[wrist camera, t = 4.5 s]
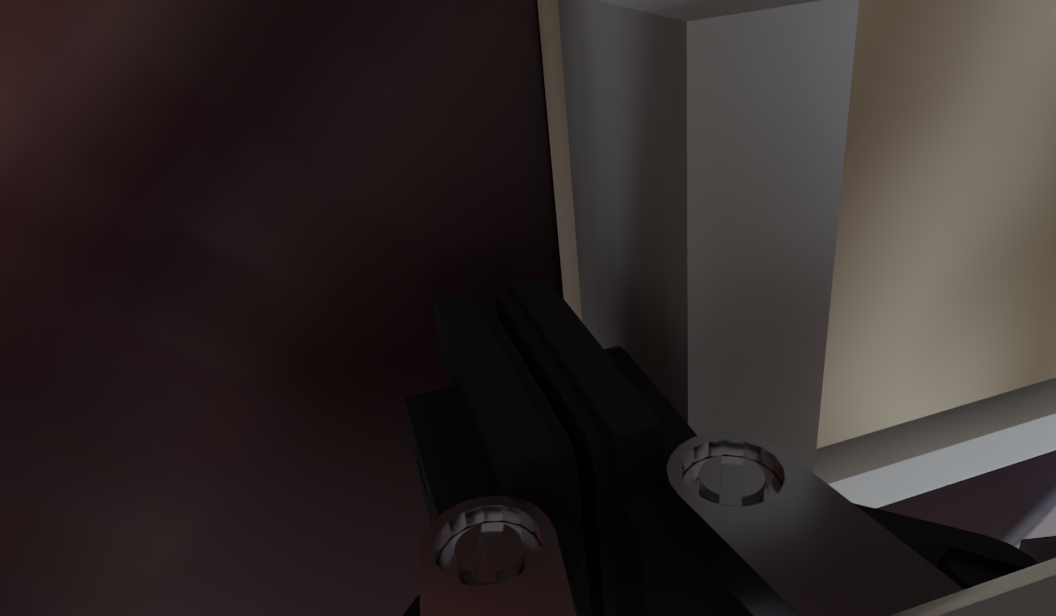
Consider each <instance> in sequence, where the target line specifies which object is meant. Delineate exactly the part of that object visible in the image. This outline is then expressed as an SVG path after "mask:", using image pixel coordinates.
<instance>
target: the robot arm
mask: <svg viewBox="0 0 1056 616" xmlns="http://www.w3.org/2000/svg"><path fill="white" fill-rule="evenodd" d="M507 294H508V295H503V296H499V297H497V301H496V304H497V313H498V316H497V314H496V313H495V311H494V309H493V308H492V306H491V304H490V303H489V301H488V300H487V299H485V300H481V301H475V299H474V297H473V295H472V294H471V293H468V294H463V295H459V296H454V297H450V298H445V299H441V300H436V301H434V303H433V305H434V313H435V320H436V325H437V331H438V337H439V343H440V348H441V354H442V360H443V366H444V371H445V377H446V383H447V388H445V389H441V390H437V391H433V392H429V393H425V394H421V395H417V396H413V397H409V398H405V399H403V402H404V408H405V413H406V418H407V423H408V428H409V433H410V437H411V442H412V447H413V452H414V456H415V460H416V465H417V469H418V473H419V477H420V482H421V486H422V490H423V494H424V497H425V501H426V505H427V508H428V512H429V515H430V519H431V524H430V526H429V527H428V529H427V531H426V532H425V534H424V536H423V537H422V539H421V544H420V549H419V555H418V560H419V592H420V594H419V595H418V596H417V598H416V599H415V600H414V602H413V603H412V604H411V605H410V607H409V608H408V609H407V611H406V612H405V613H404V614H403V616H1056V536H1051V537H1042V538H1032V539H1023V540H1021V543H1020V547H1019V549H1018V548H1016V547H1014V546H1012V545H1010V544H1008V543H1006V542H1003V541H1000V540H997V539H994V538H991V537H988V536H985V535H982V534H978V533H974V532H970V531H966V530H962V529H957V528H953V527H949V526H945V525H941V524H937V523H933V522H929V521H925V520H921V519H916V518H912V517H908V516H904V515H900V514H896V513H892V512H888V511H884V510H880V509H875V508H871V507H867V506H863V505H859V504H855V503H852V502H851V501H849V500H848V499H847V498H845V497H844V496H843V495H841V494H840V493H839V492H838V491H836V490H835V489H834V488H832V487H831V486H830V485H828V484H827V483H826V482H825V481H823V480H822V479H821V478H819V477H818V476H817V475H815V474H814V473H813V472H812V471H810V470H809V469H808V468H806V467H805V466H804V465H803V464H801V463H800V462H799V461H797V460H796V459H795V458H793V457H792V456H791V455H790V454H788V453H787V452H786V451H784V450H783V449H781V448H780V447H778V446H776V445H775V444H773V443H771V442H770V441H768V440H766V439H763V438H759V437H756V436H753V435H750V434H745V433H737V432H712V433H707V434H703V435H700V436H697V434H696V433H695V432H694V431H693V430H692V428H691V427H690V426H689V425H688V424H687V423H686V421H685V420H684V419H683V418H682V417H681V415H680V414H679V413H678V412H677V411H676V410H675V408H674V407H673V406H672V405H671V404H670V402H669V401H668V400H667V399H666V398H665V396H664V395H663V394H662V393H661V392H660V391H659V389H658V388H657V387H656V386H655V385H654V383H653V382H652V381H651V380H650V379H649V378H648V376H647V375H646V374H645V373H644V372H643V370H642V369H641V368H640V367H639V366H638V364H637V363H636V362H635V361H634V360H633V359H632V357H631V356H630V355H629V354H628V353H627V351H625V350H624V349H623V348H622V347H620V346H615V347H611V348H607V349H603V348H602V346H601V345H600V344H599V342H598V341H597V340H596V339H595V337H594V336H593V335H592V334H591V332H590V331H589V330H588V329H587V327H586V326H585V325H584V324H583V322H582V321H581V320H580V319H579V317H578V316H577V315H576V314H575V312H574V311H573V310H572V309H571V307H570V306H569V305H568V304H567V302H566V301H565V300H564V298H563V297H562V296H561V295H560V293H559V292H558V291H557V290H556V288H555V287H554V286H553V285H552V283H551V282H550V281H549V280H548V278H546V277H545V276H544V277H540V278H535V279H531V280H526V281H522V282H517V283H513V284H509V285H508V291H507Z"/></svg>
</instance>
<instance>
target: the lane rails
mask: <svg viewBox="0 0 1056 616" xmlns="http://www.w3.org/2000/svg"><path fill="white" fill-rule="evenodd" d="M1054 450H1056V378H1052V379H1049V380H1046V381H1042V382H1039V383H1035V384H1032V385H1029V386H1025V387H1022V388H1019V389H1015V390H1012V391H1009V392H1005V393H1002V394H999V395H995V396H992V397H989V398H985V399H982V400H979V401H975V402H972V403H969V404H965V405H962V406H958V407H955V408H952V409H948V410H945V411H942V412H938V413H935V414H932V415H928V416H925V417H922V418H918V419H915V420H912V421H908V422H905V423H902V424H898V425H895V426H892V427H888V428H885V429H882V430H878V431H875V432H871V433H868V434H865V435H861V436H858V437H855V438H851V439H848V440H845V441H841V442H838V443H835V444H831V445H828V446H825V447H821V448H818V449H816V460H815V471H814V474H815V475H817V476H818V477H819V478H821V479H822V480H823V481H825V482H826V483H827V484H828V485H830V486H831V487H832V488H834V489H835V490H836V491H838V492H839V493H840V494H841V495H843V496H844V497H845V498H847V499H848V500H849V501H851V502H852V503H855V504H859V505H863V506H867V507H871V508H878V507H881V506H884V505H888V504H891V503H894V502H897V501H900V500H903V499H906V498H909V497H912V496H915V495H918V494H922V493H925V492H928V491H931V490H934V489H937V488H940V487H943V486H946V485H949V484H952V483H956V482H959V481H962V480H965V479H968V478H971V477H974V476H977V475H980V474H983V473H986V472H990V471H993V470H996V469H999V468H1002V467H1005V466H1008V465H1011V464H1014V463H1017V462H1020V461H1024V460H1027V459H1030V458H1033V457H1036V456H1039V455H1042V454H1045V453H1048V452H1051V451H1054Z"/></svg>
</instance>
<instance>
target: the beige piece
mask: <svg viewBox="0 0 1056 616" xmlns="http://www.w3.org/2000/svg"><path fill="white" fill-rule="evenodd" d="M537 3H538V14H539V25H540V37H541V48H542V59H543V71H544V82H545V93H546V105H547V116H548V127H549V138H550V150H551V161H552V172H553V184H554V195H555V206H556V218H557V229H558V240H559V252H560V263H561V274H562V286H563V297H564V300H565V301H566V302H567V304H568V305H569V306H570V307H571V309H572V310H573V311H574V312H575V314H576V315H577V316H578V317H579V319H580V320H581V321H582V322H583V324H584V325H585V326H586V327H587V329H588V330H589V331H590V332H591V334H592V335H593V336H594V337H595V339H596V340H597V341H598V342H599V344H600V345H601V346H602V348H603V349H607V348H611V347H615V346H620V347H622V348H623V349H624V350H625V351H627V353H628V354H629V355H630V356H631V357H632V359H633V360H634V361H635V362H636V363H637V364H638V366H639V367H640V368H641V369H642V370H643V372H644V373H645V374H646V375H647V376H648V378H649V379H650V380H651V381H652V382H653V383H654V385H655V386H656V387H657V388H658V389H659V391H660V392H661V393H662V394H663V395H664V396H665V398H666V399H667V400H668V401H669V402H670V404H671V405H672V406H673V407H674V408H675V410H676V411H677V412H678V413H679V414H680V415H681V417H682V418H683V419H684V420H685V421H686V423H687V424H688V425H689V426H690V427H691V428H692V430H693V431H694V432H695V433H696V434H697V436H700V435H703V434H707V433H712V432H737V433H745V434H750V435H753V436H756V437H759V438H763V439H766V440H768V441H770V442H771V443H773V444H775V445H776V446H778V447H780V448H781V449H783V450H784V451H786V452H787V453H788V454H790V455H791V456H792V457H793V458H795V459H796V460H797V461H799V462H800V463H801V464H803V465H804V466H805V467H806V468H808V469H809V470H810V471H812V472H813V473H814V471H815V460H816V449H818V448H821V447H825V446H828V445H831V444H835V443H838V442H841V441H845V440H848V439H851V438H855V437H858V436H861V435H865V434H868V433H871V432H875V431H878V430H882V429H885V428H888V427H892V426H895V425H898V424H902V423H905V422H908V421H912V420H915V419H918V418H922V417H925V416H928V415H932V414H935V413H938V412H942V411H945V410H948V409H952V408H955V407H958V406H962V405H965V404H969V403H972V402H975V401H979V400H982V399H985V398H989V397H992V396H995V395H999V394H1002V393H1005V392H1009V391H1012V390H1015V389H1019V388H1022V387H1025V386H1029V385H1032V384H1035V383H1039V382H1042V381H1046V380H1049V379H1052V378H1056V0H537Z"/></svg>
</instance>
